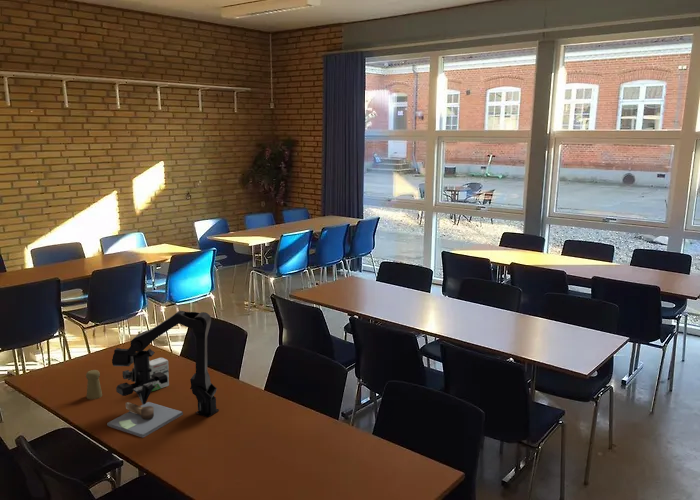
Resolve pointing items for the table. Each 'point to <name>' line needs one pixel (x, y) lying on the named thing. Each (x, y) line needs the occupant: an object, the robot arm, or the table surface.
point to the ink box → (159, 366)
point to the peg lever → (141, 410)
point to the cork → (93, 385)
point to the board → (145, 420)
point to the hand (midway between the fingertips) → (143, 404)
